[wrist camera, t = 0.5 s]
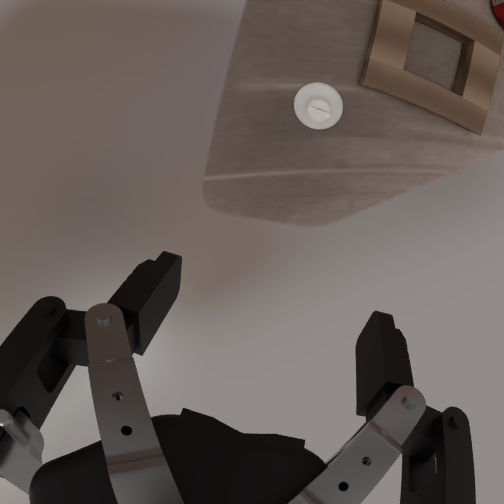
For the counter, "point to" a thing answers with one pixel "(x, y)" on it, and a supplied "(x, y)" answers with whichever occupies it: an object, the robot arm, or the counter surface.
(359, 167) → the counter surface
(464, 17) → the frame
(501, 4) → the soda can
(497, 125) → the counter surface
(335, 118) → the chess piece
